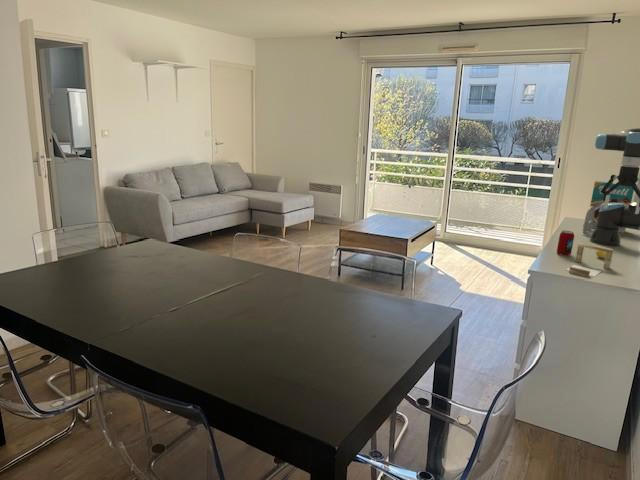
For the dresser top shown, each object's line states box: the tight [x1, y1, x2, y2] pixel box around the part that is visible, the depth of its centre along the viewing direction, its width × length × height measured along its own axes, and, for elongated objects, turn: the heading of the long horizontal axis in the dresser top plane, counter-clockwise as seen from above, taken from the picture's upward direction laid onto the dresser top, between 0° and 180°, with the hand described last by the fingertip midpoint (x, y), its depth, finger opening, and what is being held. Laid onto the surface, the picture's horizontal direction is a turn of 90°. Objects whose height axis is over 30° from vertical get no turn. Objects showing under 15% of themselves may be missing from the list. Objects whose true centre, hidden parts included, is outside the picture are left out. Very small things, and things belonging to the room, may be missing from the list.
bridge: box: [574, 242, 614, 270], centre depth 233 cm, size 3×14×9 cm, turn 48°
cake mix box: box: [589, 180, 635, 234], centre depth 311 cm, size 22×6×30 cm, turn 58°
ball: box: [595, 250, 607, 259], centre depth 246 cm, size 6×6×6 cm
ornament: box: [581, 206, 595, 237], centre depth 297 cm, size 22×13×17 cm, turn 136°
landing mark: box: [565, 264, 602, 278], centre depth 224 cm, size 12×12×1 cm
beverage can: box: [556, 230, 575, 257], centre depth 249 cm, size 7×7×12 cm
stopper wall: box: [568, 266, 590, 278], centre depth 218 cm, size 2×8×2 cm, turn 48°
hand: (620, 211), depth 230 cm, fingers open, 13 cm apart
